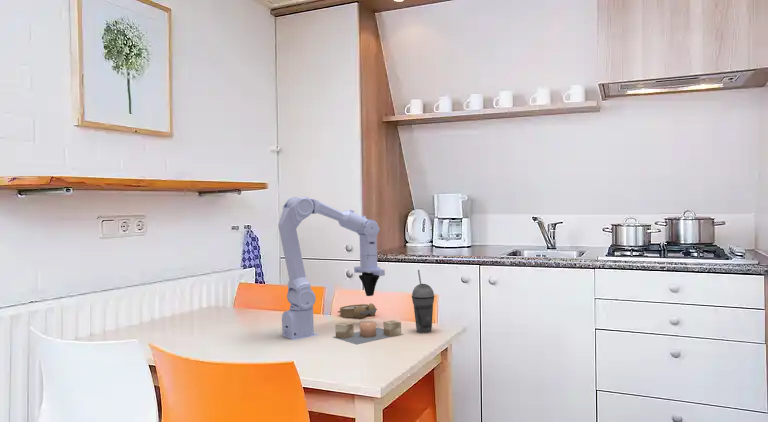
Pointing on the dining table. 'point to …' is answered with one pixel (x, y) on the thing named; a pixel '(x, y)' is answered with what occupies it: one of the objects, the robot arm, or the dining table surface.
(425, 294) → the beverage cup
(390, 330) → the birch cube
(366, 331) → the tan rounded piece
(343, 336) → the birch cube
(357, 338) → the slate mat
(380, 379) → the dining table surface
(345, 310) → the alarm clock
